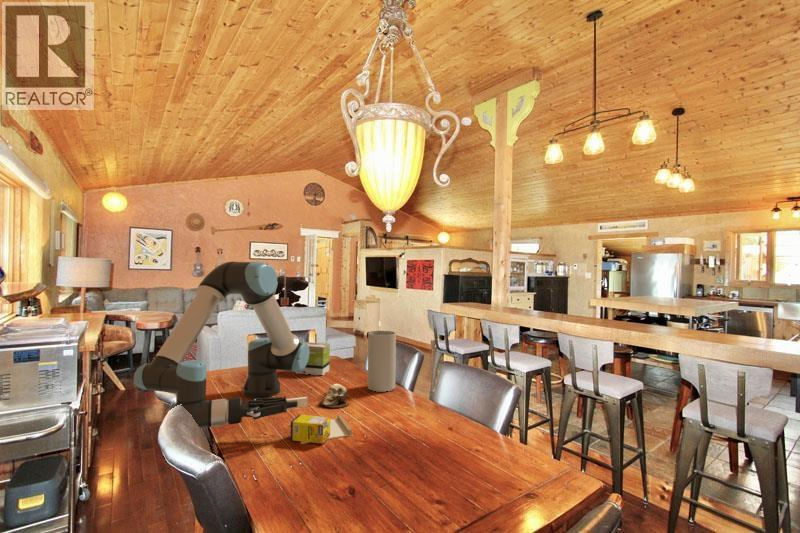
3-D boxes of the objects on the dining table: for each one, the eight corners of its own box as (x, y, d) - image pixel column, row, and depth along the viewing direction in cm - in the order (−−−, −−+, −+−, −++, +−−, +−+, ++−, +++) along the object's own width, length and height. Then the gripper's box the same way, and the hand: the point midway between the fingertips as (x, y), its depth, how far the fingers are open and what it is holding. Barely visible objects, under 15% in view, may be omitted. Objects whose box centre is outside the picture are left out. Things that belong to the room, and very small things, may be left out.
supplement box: (290, 440, 118) (322, 444, 115) (290, 421, 118) (322, 424, 115) (299, 432, 124) (330, 435, 121) (299, 414, 124) (330, 417, 121)
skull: (332, 409, 142) (321, 385, 147) (321, 421, 148) (311, 398, 153) (357, 401, 151) (347, 378, 155) (346, 413, 156) (336, 390, 161)
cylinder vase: (400, 387, 174) (401, 332, 174) (384, 394, 163) (385, 336, 163) (378, 382, 180) (379, 329, 180) (361, 389, 170) (362, 333, 170)
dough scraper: (301, 444, 116) (301, 438, 116) (294, 426, 129) (294, 421, 129) (351, 435, 123) (351, 429, 123) (340, 419, 136) (340, 414, 136)
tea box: (294, 374, 192) (295, 345, 192) (302, 369, 202) (303, 341, 202) (322, 376, 189) (323, 346, 189) (329, 371, 199) (330, 342, 199)
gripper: (227, 416, 120) (303, 406, 130) (227, 432, 108) (310, 420, 118) (228, 392, 120) (303, 384, 130) (227, 406, 108) (311, 396, 118)
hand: (307, 401), depth 124 cm, fingers closed
